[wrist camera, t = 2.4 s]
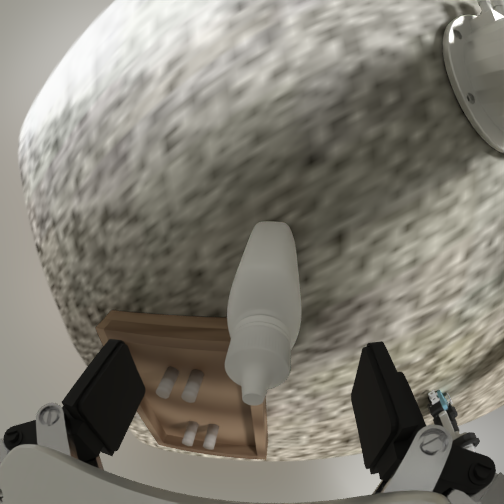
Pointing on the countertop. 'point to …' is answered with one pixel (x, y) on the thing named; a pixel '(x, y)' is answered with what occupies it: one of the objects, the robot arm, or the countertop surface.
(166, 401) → the pin tray
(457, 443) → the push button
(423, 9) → the countertop surface
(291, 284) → the eye dropper bottle
